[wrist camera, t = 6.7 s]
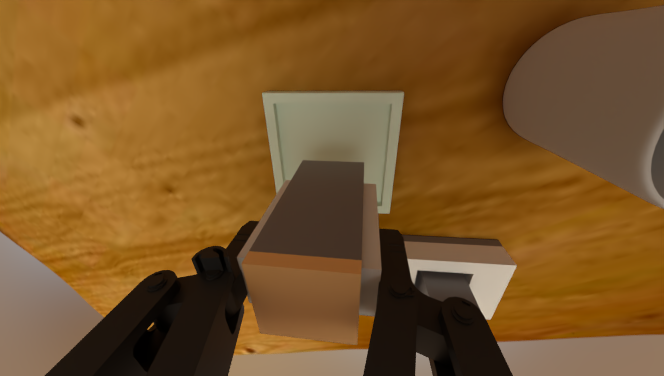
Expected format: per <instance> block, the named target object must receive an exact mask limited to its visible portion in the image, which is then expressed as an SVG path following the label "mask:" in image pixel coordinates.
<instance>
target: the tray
mask: <svg viewBox="0 0 664 376" xmlns="http://www.w3.org/2000/svg"><path fill="white" fill-rule="evenodd" d="M262 97H263V104H264V110H265V117H266V124H267V131H268V138H269V145H270V152H271V159H272V166H273V172H274V179H275V186H276V193H278V191H279V190H280V188H281V187H282V185H283V184H284V182H285V180H291V179H292V177H293V176H294V174H295V172H296V171H297V169H298V167H299V166H300V164H301V162H302V161H303V160H314V161H342V162H364V183H367V184H376V191H377V207H378V213H384V214H390V206H391V198H392V189H393V181H394V173H395V165H396V156H397V148H398V140H399V131H400V123H401V115H402V107H403V98H404V92H403V91H266V92H263V93H262Z"/></svg>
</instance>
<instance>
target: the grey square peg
mask: <svg viewBox="0 0 664 376" xmlns="http://www.w3.org/2000/svg"><path fill="white" fill-rule="evenodd" d="M414 285H415V287H416V288H417V289H418V290H419V291H420V292H422V293H423V294H425V295H427V296H429V297H431V298H434V299H437V300H440V301H442V302H443V301H444V300H445V299H447V298H448V297H460V298H464V299H466V300H468V301H470V302H472V303H473V304H474V305H476V306H477V307H478V308H479V306H478V304H477V301H476V299H475V297H474V295H473V293H472V291H471V289H470V287H469V284H468V282H467V280H466V278H465V276H464V274H463V273H452V272H437V271H422V270H417V274H416V279H415V284H414ZM479 309H480V308H479ZM480 311H481V310H480Z"/></svg>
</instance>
